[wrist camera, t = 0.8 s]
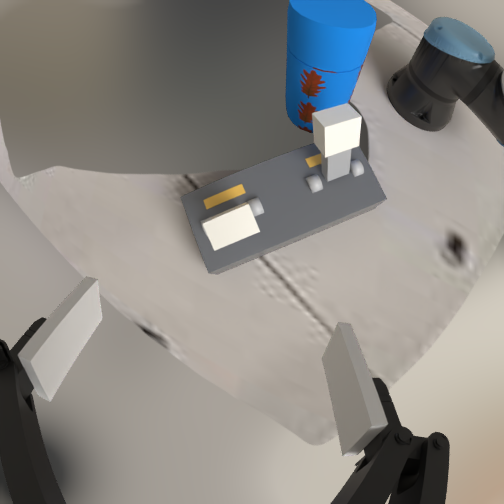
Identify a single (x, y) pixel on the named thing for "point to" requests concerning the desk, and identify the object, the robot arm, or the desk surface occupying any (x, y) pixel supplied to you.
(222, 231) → the outer lever
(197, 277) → the desk surface
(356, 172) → the switch box
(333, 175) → the inner lever
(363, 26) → the thermos
